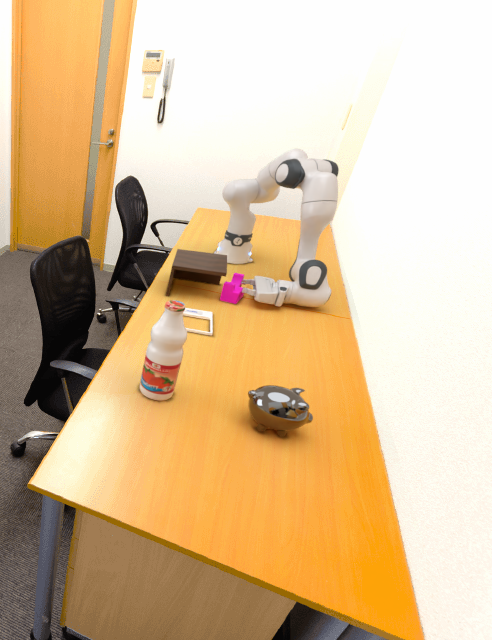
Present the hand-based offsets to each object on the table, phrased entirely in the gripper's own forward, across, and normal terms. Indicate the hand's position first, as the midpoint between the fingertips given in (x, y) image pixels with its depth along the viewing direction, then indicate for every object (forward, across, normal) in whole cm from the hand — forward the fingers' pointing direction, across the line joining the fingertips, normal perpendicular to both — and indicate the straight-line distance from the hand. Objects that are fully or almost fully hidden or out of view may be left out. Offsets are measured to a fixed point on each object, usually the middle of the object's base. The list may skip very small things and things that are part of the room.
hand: (241, 285), depth 175 cm
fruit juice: (+23, +81, +6) cm, 84 cm away
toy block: (+2, 0, +5) cm, 6 cm away
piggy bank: (-6, +84, +6) cm, 84 cm away
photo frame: (+17, +31, +6) cm, 35 cm away
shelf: (+17, 0, +5) cm, 18 cm away
